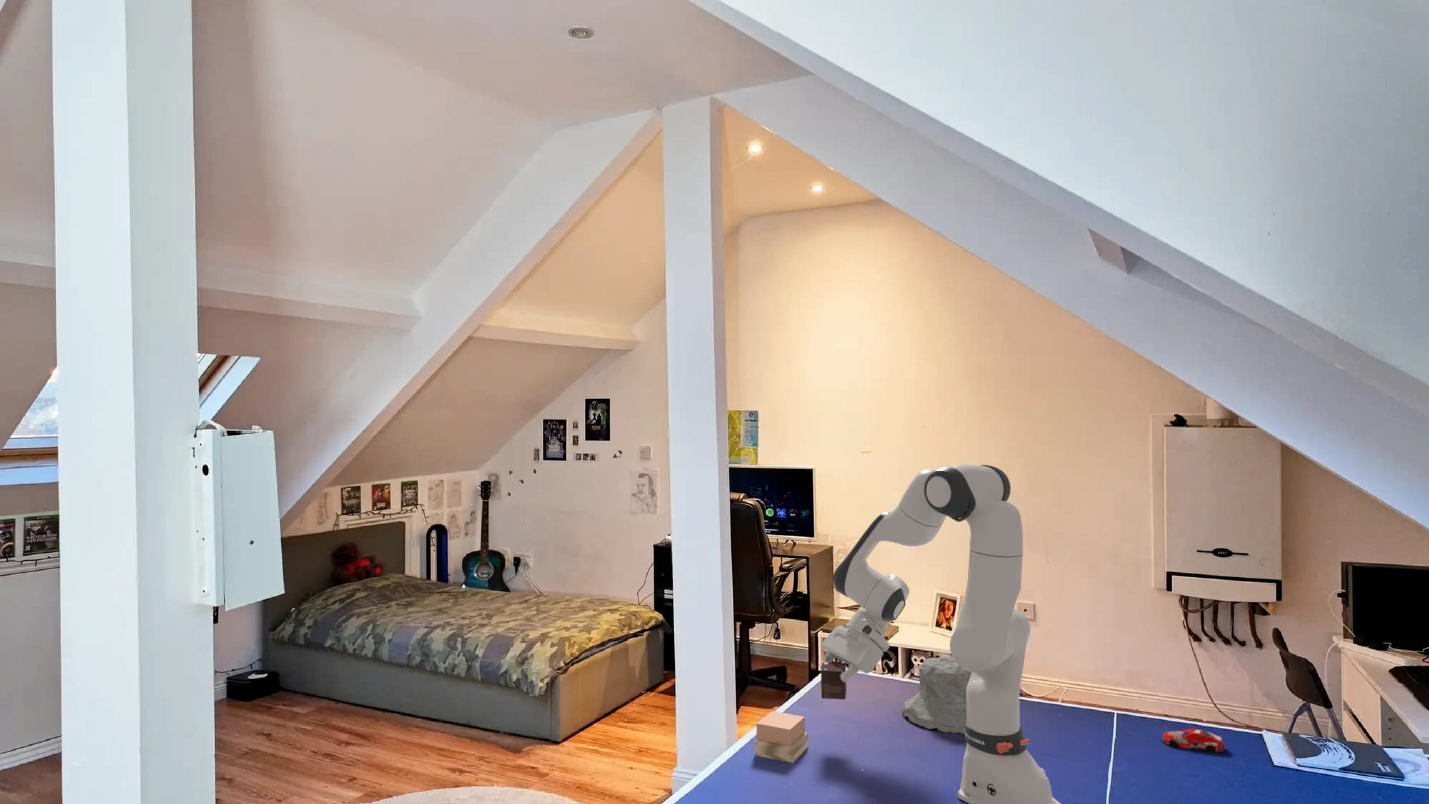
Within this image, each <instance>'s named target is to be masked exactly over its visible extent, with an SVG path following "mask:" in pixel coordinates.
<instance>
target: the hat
mask: <svg viewBox="0 0 1429 804" xmlns="http://www.w3.org/2000/svg"><path fill="white" fill-rule="evenodd" d="M919 671H920V672H919V680H918V681H919V684H918V692H917V693H916V694H915V695H914V696H912V697H910V698H909V699H908V700H906V701H905V702H903V703H904V704H903V707H902V710H901V712H902V714H903V717H906V718H907V717H908V718H907V719H908V720H909V722H912V724H914V725H918V726H920V727H924V729H927V730H932V729H937V730H938V731H939V732H940V731H941V733H943V732H944V733H952V734H956V733H958V734H959V733H960V734H965V732H964V729H965V723H966V721H967V703H966V689H967V684H968V682H969V680H970V677H971V673H972V672H970V671H967V670H965V669H963V668H962V667H960V666H959V665H958V664H957V663H956V661H955V660H954V658H949V657H946V656H939V657H929V658H927V659H924V660H923V661H922V664H921V666H920V669H919Z"/></svg>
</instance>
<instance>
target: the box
mask: <svg viewBox="0 0 1429 804" xmlns="http://www.w3.org/2000/svg"><path fill="white" fill-rule="evenodd" d="M821 664H822V668H820V683H821V684H820V686H821V687H820V689H821V699H825V700H826V699H827V700H846V697H847V682H846V683H845V682H843V681H841V680H840V679H839V675H841V673H842V672H845V671H846V670H847V669H846V665H847V663H845V662H832V661H831V662H823V661H822V663H821Z"/></svg>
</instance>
